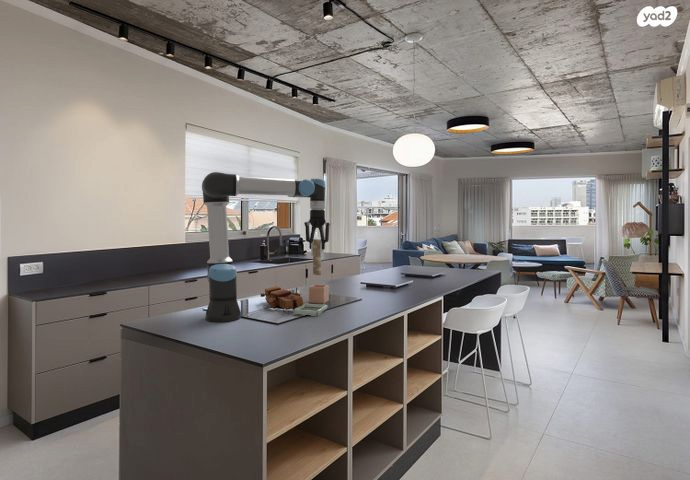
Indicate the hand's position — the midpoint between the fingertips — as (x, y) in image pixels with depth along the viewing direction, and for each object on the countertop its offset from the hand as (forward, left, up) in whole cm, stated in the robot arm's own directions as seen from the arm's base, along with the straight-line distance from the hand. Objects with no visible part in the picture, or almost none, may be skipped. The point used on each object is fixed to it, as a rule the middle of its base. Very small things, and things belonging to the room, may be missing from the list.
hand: (317, 255), depth 216 cm
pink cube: (0, +4, -25) cm, 25 cm away
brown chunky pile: (-16, -9, -25) cm, 31 cm away
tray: (+3, -16, -25) cm, 30 cm away
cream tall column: (0, 0, -10) cm, 10 cm away
